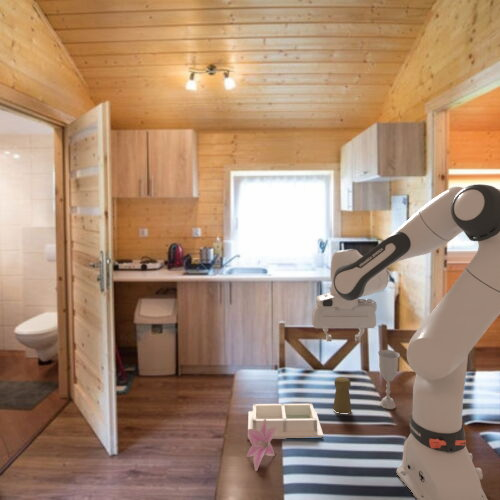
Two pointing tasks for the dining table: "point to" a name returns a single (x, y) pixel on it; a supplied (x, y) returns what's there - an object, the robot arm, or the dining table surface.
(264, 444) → the lily
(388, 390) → the chalice
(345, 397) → the cork
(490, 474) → the dining table surface
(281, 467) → the dining table surface
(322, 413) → the dining table surface
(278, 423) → the cream divided tray
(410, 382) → the dining table surface
